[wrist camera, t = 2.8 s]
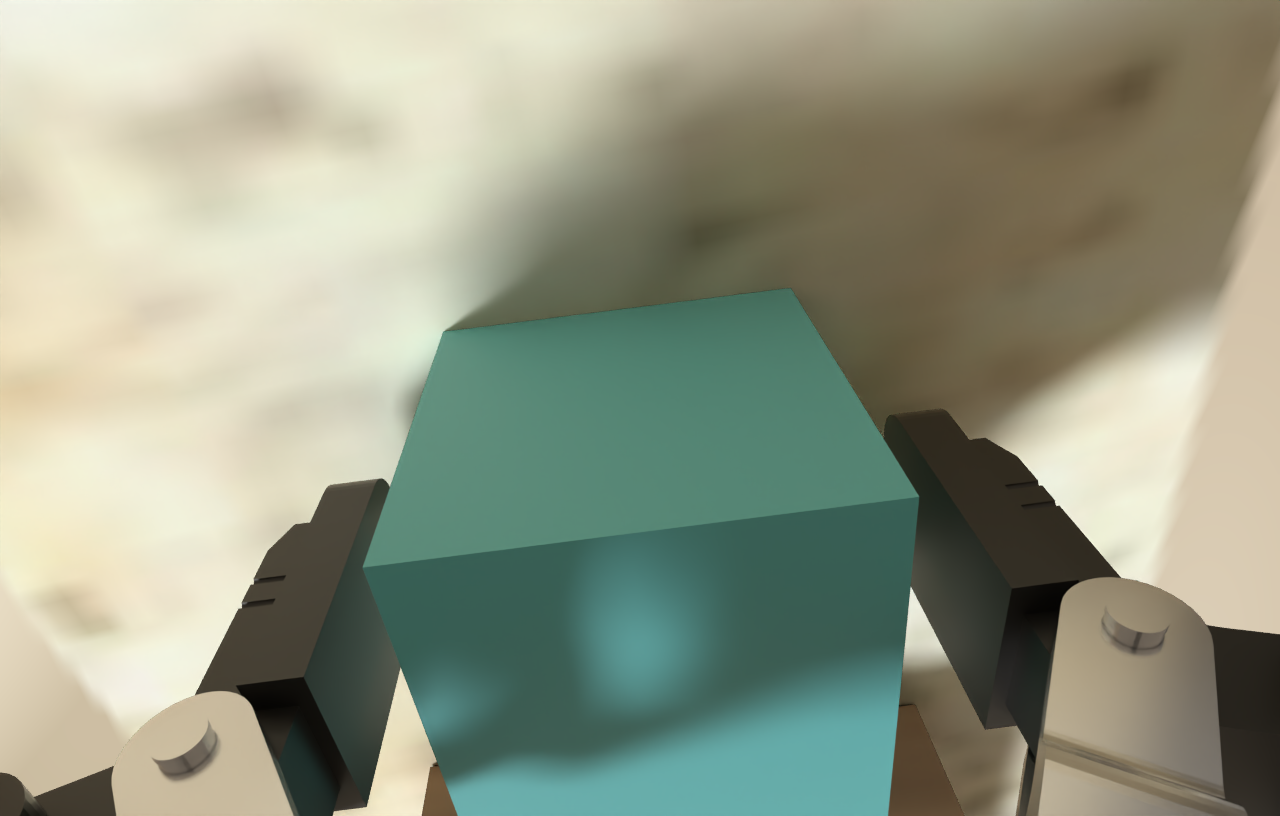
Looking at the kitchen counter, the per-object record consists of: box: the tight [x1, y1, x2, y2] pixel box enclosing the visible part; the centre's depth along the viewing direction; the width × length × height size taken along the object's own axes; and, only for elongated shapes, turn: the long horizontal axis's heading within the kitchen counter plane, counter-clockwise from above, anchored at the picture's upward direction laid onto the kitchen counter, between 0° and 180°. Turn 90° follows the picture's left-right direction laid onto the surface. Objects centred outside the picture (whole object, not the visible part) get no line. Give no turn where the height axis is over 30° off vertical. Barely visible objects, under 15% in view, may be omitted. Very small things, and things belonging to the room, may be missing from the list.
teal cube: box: [363, 288, 919, 816], centre depth 10 cm, size 5×5×5 cm
